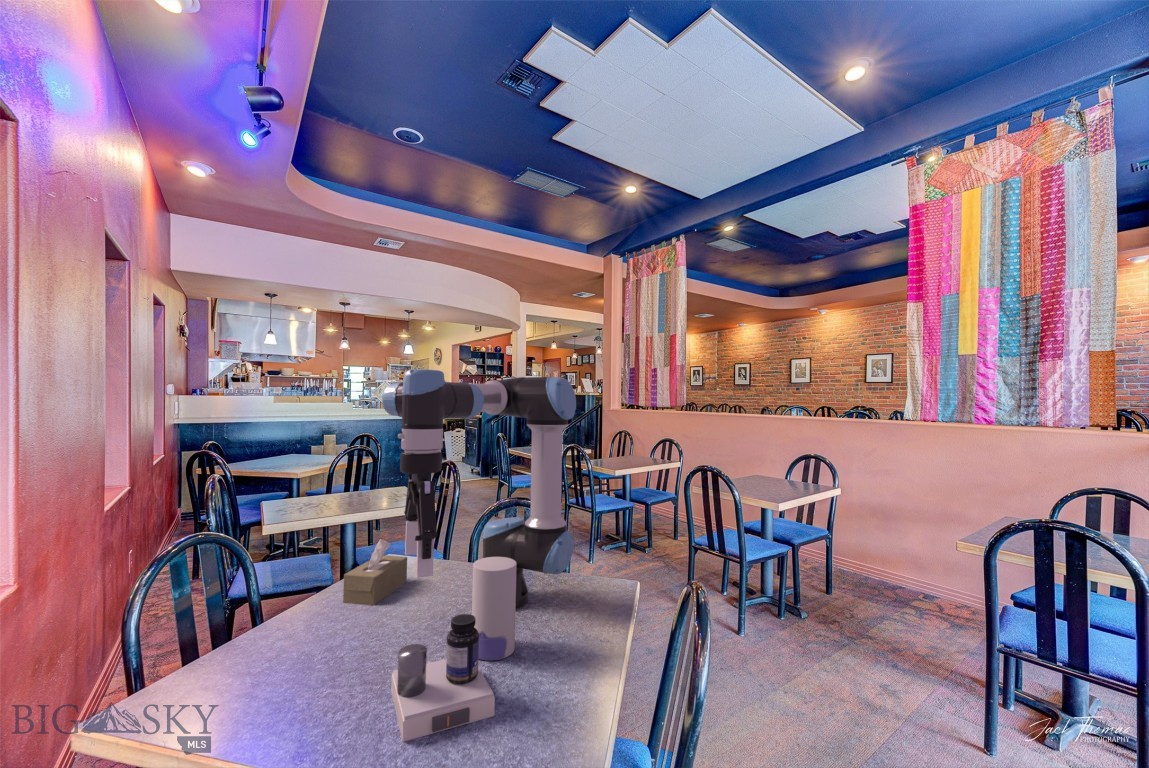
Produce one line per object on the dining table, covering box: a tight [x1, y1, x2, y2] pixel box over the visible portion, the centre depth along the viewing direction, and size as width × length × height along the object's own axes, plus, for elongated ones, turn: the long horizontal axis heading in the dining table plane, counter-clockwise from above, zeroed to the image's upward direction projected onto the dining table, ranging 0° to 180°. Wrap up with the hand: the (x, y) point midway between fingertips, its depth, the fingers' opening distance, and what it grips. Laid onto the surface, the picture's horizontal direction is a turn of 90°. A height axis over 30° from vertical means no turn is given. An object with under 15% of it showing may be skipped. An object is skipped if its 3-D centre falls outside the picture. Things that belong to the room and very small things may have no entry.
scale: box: [390, 658, 496, 743], centre depth 93 cm, size 16×17×4 cm
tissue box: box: [342, 538, 408, 606], centre depth 146 cm, size 19×10×16 cm, turn 171°
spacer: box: [397, 643, 428, 697], centre depth 90 cm, size 5×5×7 cm
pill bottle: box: [446, 613, 479, 684], centre depth 95 cm, size 6×6×11 cm
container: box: [471, 557, 517, 662], centre depth 113 cm, size 10×10×20 cm
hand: (418, 564), depth 92 cm, fingers open, 13 cm apart
